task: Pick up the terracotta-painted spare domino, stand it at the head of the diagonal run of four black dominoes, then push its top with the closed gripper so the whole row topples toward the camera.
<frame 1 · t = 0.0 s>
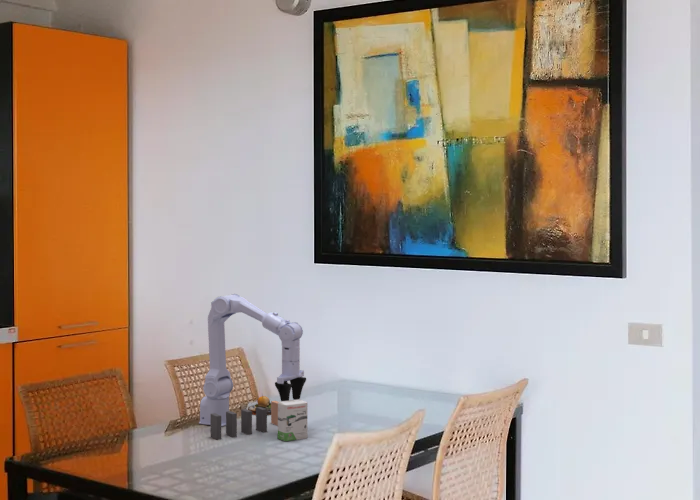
hand: (290, 401, 306), 10 cm above the table, fingers open, 7 cm apart
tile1: (276, 424, 318), on the table
tile3: (246, 433, 305), on the table
tile4: (231, 435, 302), on the table
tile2: (261, 430, 308), on the table
ink box: (292, 438, 299), on the table
burger: (264, 413, 336), on the table
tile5: (215, 438, 299), on the table
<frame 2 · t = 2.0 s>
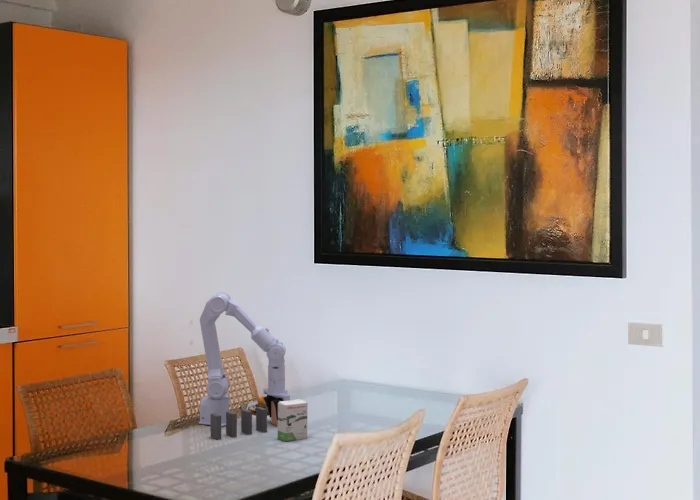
hand: (276, 418, 317), 2 cm above the table, fingers closed on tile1, 4 cm apart
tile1: (276, 424, 318), on the table, touching gripper
everything else where it was.
when the fingers open (3 cm above the table, at t = 4.9 s): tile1 stays where it is, on the table.
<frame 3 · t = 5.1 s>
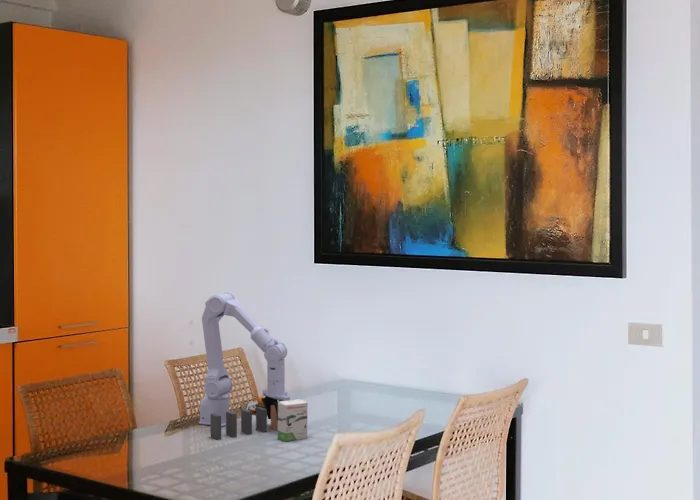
hand: (276, 420, 311), 3 cm above the table, fingers open, 6 cm apart
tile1: (276, 428, 311), on the table
everything else where it was.
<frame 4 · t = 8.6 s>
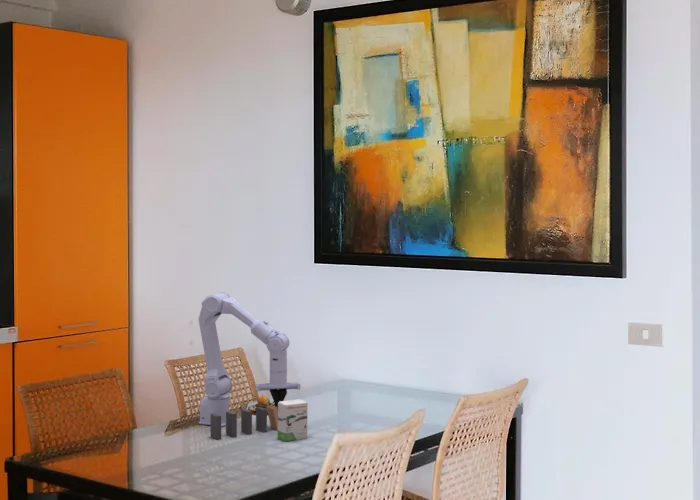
hand: (278, 411, 312), 6 cm above the table, fingers closed
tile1: (276, 428, 311), on the table, tilted 13°
everything else where it was.
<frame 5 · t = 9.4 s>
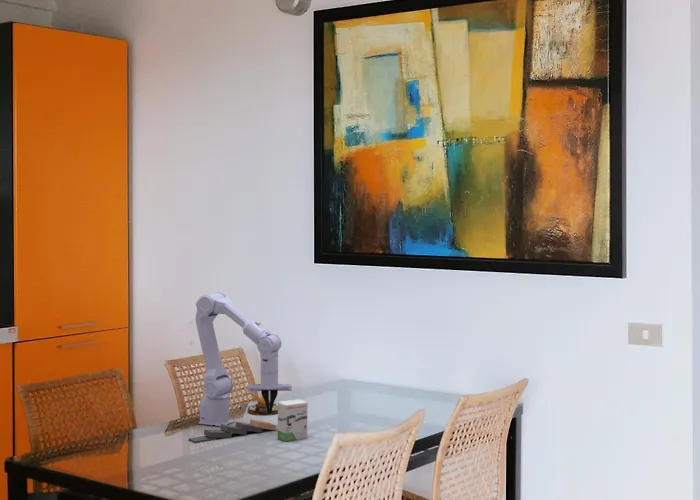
hand: (269, 412, 310), 6 cm above the table, fingers closed
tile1: (272, 426, 311), point 1 cm above the table, tilted 73°, touching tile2
tile3: (243, 431, 304), point 1 cm above the table, tilted 73°, touching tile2, tile4
tile4: (228, 433, 301), point 1 cm above the table, tilted 81°, touching tile3
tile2: (258, 429, 308), point 1 cm above the table, tilted 73°, touching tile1, tile3
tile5: (213, 438, 298), on the table, tilted 90°
everything else where it was.
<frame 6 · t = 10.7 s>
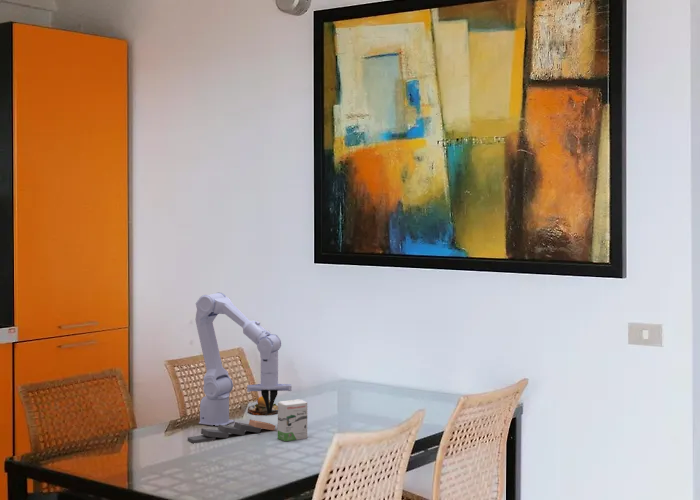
hand: (269, 412, 310), 6 cm above the table, fingers closed
tile4: (224, 434, 300), point 1 cm above the table, tilted 77°, touching tile3, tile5
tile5: (212, 438, 298), on the table, tilted 90°, touching tile4
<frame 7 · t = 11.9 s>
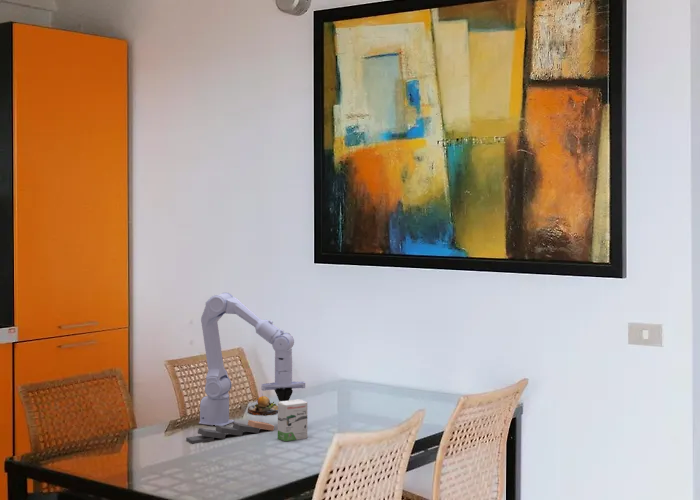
hand: (283, 410, 313), 6 cm above the table, fingers closed
tile4: (221, 434, 300), point 1 cm above the table, tilted 74°, touching tile3
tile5: (210, 438, 298), on the table, tilted 90°
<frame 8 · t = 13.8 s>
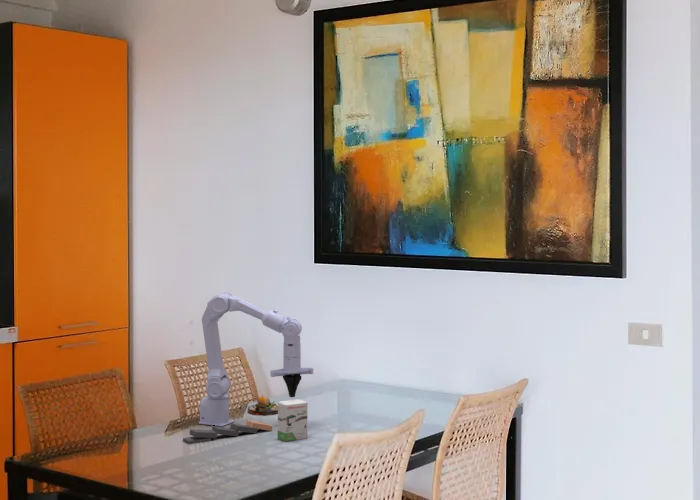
hand: (292, 396, 314), 10 cm above the table, fingers closed
tile3: (235, 432, 303), point 1 cm above the table, tilted 76°, touching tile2
tile4: (214, 433, 298), point 1 cm above the table, tilted 81°
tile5: (207, 438, 297), on the table, tilted 90°
at the end: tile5 tilted 90°; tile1 tilted 74°; the gripper is holding nothing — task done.
